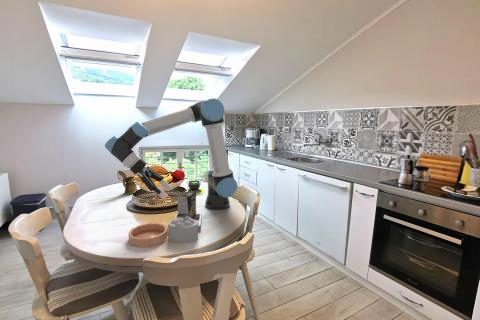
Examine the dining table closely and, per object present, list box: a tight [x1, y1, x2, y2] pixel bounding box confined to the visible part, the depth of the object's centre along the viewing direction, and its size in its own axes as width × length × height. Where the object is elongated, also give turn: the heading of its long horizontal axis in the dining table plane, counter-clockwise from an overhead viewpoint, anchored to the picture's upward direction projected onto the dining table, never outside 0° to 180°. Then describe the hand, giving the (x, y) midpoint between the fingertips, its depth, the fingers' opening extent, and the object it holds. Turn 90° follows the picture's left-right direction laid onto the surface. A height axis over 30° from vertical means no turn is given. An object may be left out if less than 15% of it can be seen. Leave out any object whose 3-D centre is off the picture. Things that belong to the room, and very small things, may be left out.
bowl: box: [128, 222, 168, 248], centre depth 112 cm, size 16×16×4 cm
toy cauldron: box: [186, 177, 205, 195], centre depth 183 cm, size 15×15×11 cm
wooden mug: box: [117, 170, 138, 195], centre depth 175 cm, size 9×14×18 cm, turn 153°
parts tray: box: [173, 212, 203, 231], centre depth 127 cm, size 14×16×2 cm
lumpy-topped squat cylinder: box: [167, 216, 199, 244], centre depth 113 cm, size 10×13×9 cm
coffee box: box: [177, 190, 197, 221], centre depth 126 cm, size 9×6×16 cm
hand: (168, 193), depth 123 cm, fingers open, 13 cm apart
